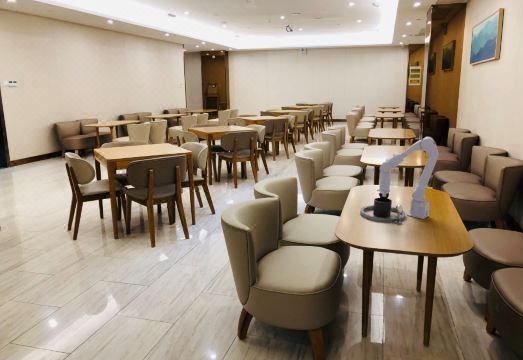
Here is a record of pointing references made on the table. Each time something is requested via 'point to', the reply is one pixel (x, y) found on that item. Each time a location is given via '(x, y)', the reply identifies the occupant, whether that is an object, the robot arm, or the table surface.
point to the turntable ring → (380, 217)
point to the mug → (382, 207)
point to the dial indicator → (398, 214)
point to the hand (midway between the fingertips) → (383, 205)
